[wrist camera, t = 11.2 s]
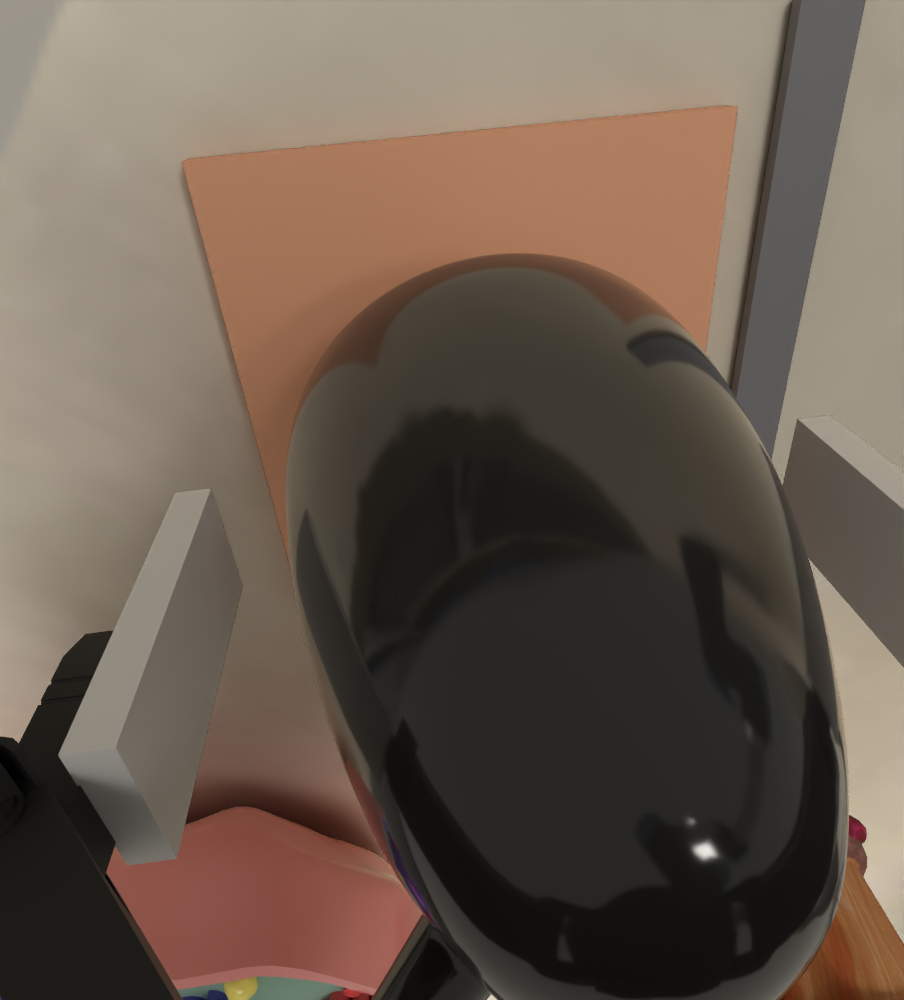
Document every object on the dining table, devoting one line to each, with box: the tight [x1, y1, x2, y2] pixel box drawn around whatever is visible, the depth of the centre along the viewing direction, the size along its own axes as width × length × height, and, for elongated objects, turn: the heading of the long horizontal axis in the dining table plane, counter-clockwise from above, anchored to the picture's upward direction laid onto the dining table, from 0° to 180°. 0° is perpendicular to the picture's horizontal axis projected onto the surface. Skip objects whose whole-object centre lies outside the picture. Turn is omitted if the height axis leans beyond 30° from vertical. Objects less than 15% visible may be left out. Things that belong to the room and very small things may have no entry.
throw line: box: [731, 0, 865, 460], centre depth 20 cm, size 2×18×1 cm, turn 4°
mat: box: [182, 105, 738, 569], centre depth 20 cm, size 13×14×1 cm
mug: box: [781, 815, 904, 1000], centre depth 26 cm, size 15×8×15 cm, turn 71°
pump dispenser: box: [285, 253, 849, 1000], centre depth 13 cm, size 10×10×15 cm
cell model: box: [0, 806, 422, 1000], centre depth 27 cm, size 17×20×11 cm
